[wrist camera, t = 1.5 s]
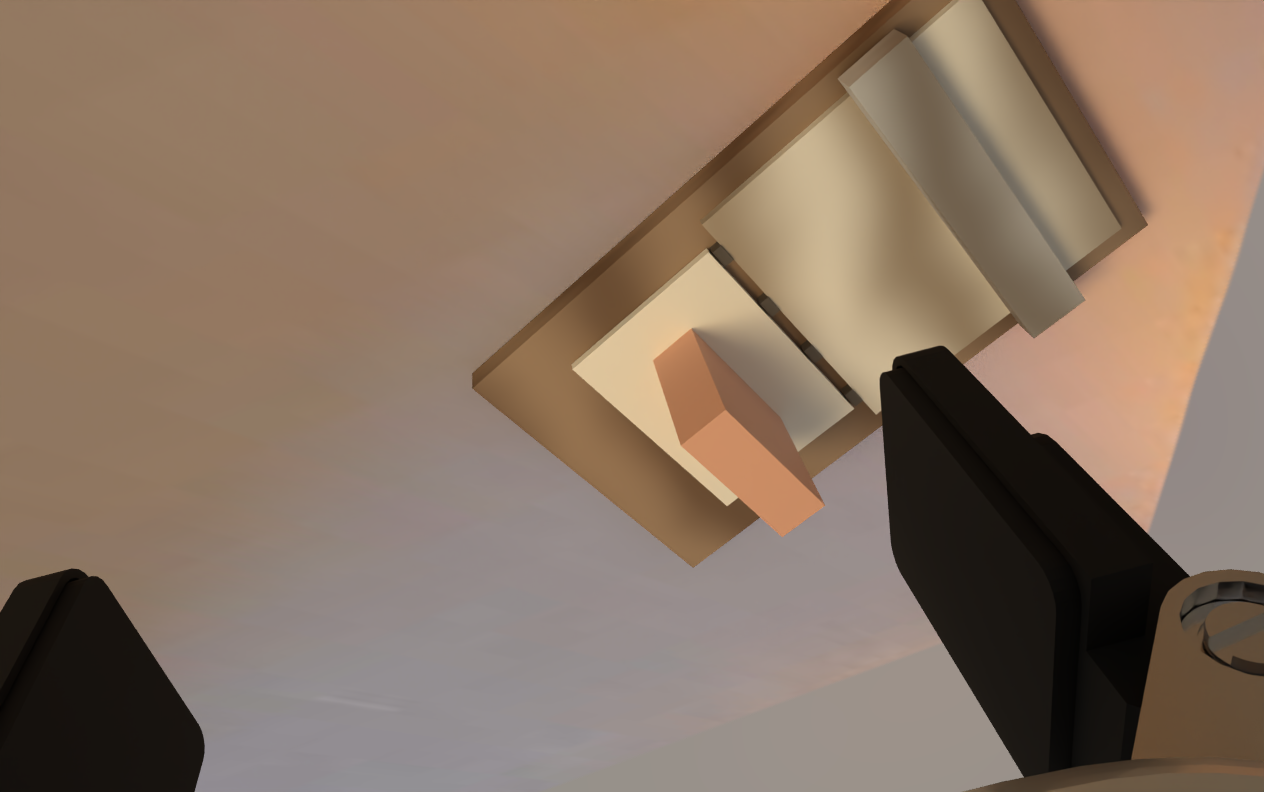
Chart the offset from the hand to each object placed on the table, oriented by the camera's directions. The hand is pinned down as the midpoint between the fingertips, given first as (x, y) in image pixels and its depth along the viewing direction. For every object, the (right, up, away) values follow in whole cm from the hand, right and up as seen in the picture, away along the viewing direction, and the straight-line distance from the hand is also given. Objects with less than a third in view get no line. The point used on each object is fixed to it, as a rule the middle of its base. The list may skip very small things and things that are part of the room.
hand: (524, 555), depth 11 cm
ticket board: (+8, +6, +28) cm, 30 cm away
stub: (+5, +2, +28) cm, 28 cm away
